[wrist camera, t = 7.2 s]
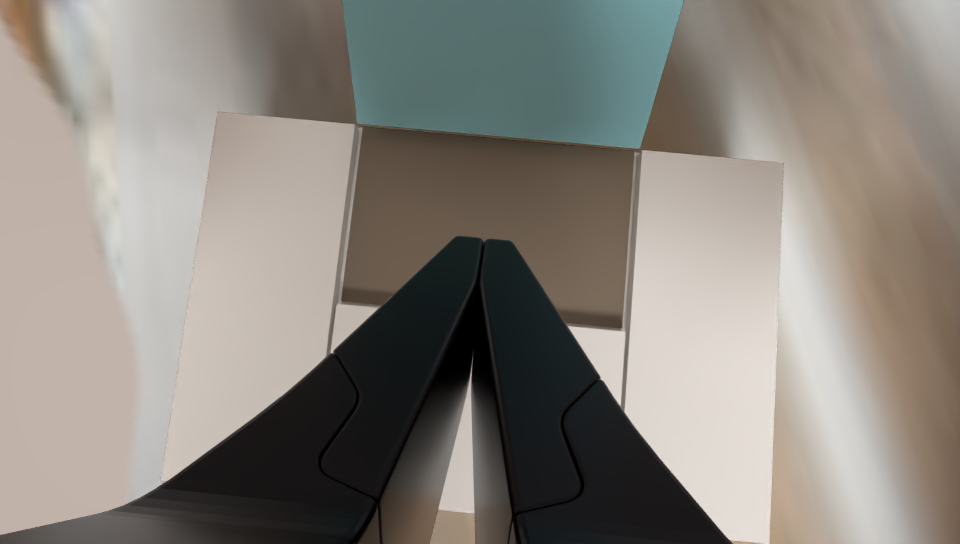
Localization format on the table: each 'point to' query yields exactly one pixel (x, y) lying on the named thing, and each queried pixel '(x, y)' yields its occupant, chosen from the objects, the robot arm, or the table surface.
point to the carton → (546, 249)
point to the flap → (511, 66)
